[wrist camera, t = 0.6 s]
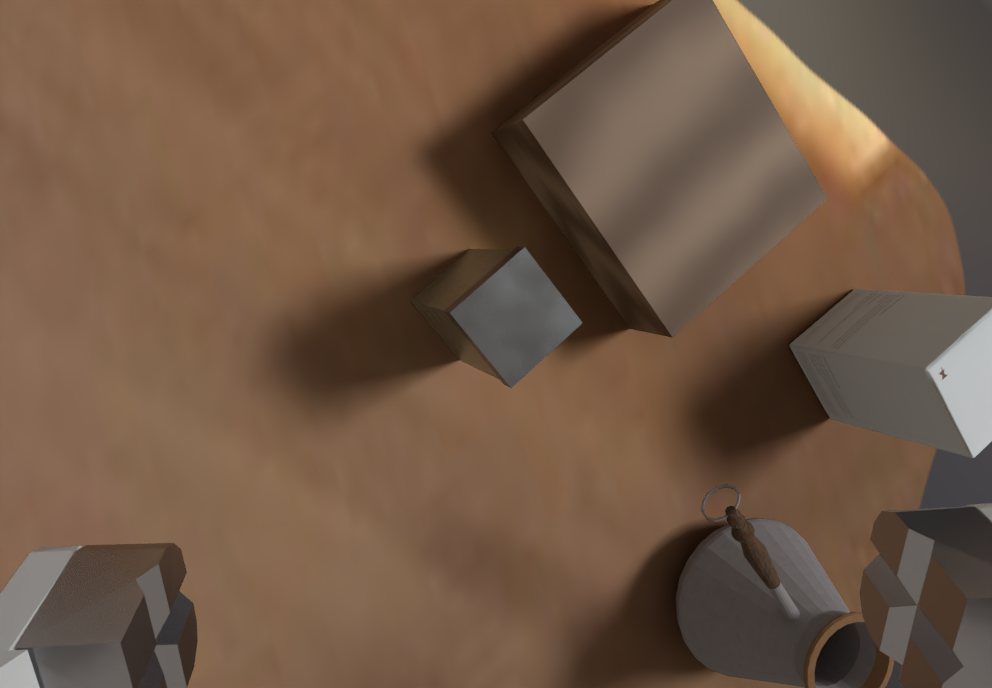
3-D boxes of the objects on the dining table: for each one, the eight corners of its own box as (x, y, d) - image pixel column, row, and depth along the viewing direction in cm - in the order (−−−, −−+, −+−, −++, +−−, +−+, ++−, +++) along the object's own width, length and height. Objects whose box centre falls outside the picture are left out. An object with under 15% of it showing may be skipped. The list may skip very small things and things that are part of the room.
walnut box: (489, 133, 52) (522, 119, 46) (649, 5, 54) (699, -22, 49) (627, 328, 56) (672, 337, 51) (769, 202, 59) (827, 198, 53)
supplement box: (828, 421, 62) (972, 464, 50) (785, 343, 60) (924, 367, 48) (896, 363, 64) (1052, 391, 52) (856, 284, 62) (1008, 294, 50)
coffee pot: (817, 574, 64) (988, 668, 49) (718, 686, 62) (865, 817, 48) (658, 379, 57) (801, 424, 43) (542, 499, 55) (651, 586, 41)
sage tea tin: (407, 300, 51) (449, 312, 42) (470, 246, 52) (524, 247, 42) (459, 362, 53) (511, 388, 43) (519, 309, 53) (582, 322, 44)
